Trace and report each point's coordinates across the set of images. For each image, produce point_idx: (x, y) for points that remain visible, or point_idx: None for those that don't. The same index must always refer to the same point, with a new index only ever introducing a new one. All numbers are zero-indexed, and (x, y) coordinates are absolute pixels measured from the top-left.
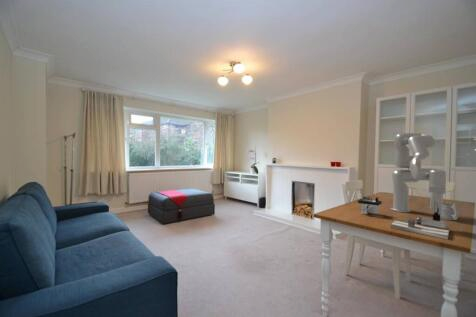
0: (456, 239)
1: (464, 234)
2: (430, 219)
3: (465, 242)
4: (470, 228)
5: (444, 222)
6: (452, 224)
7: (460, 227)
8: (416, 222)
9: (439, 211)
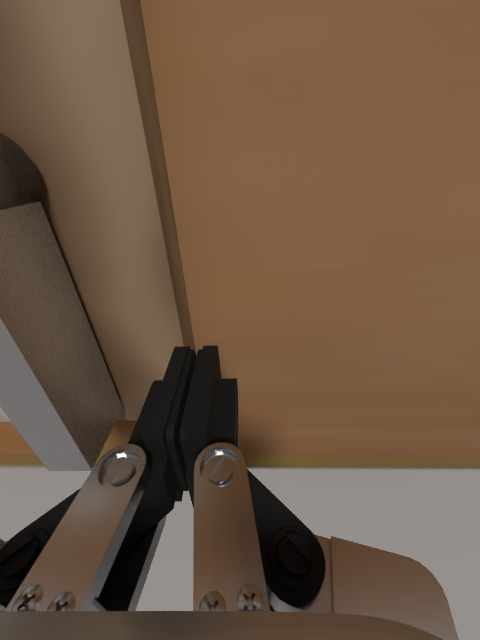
0: (10, 426)
1: None
2: (8, 357)
3: (5, 452)
4: (391, 466)
5: (46, 464)
6: (460, 399)
7: (381, 433)
8: (62, 105)
9: (105, 599)
